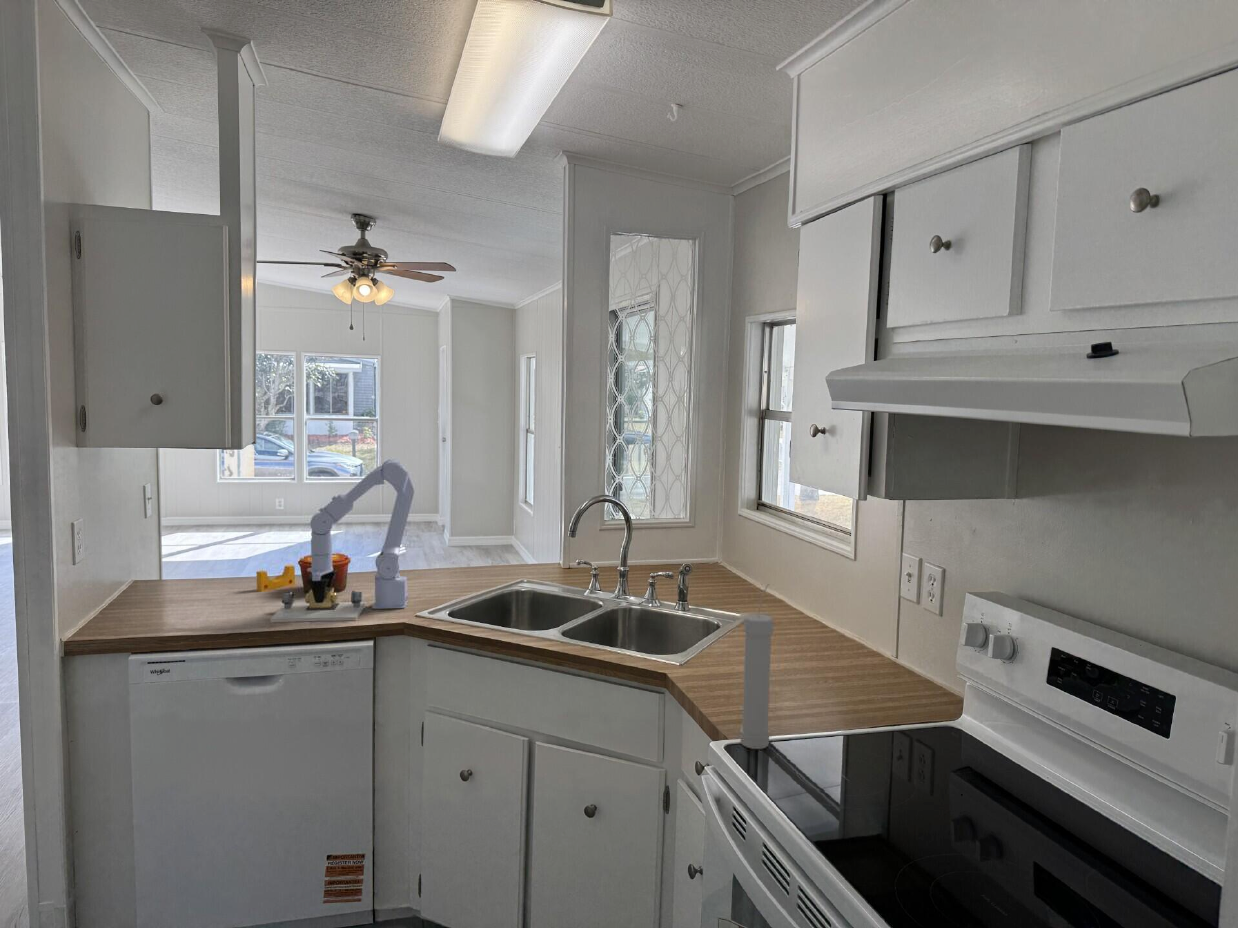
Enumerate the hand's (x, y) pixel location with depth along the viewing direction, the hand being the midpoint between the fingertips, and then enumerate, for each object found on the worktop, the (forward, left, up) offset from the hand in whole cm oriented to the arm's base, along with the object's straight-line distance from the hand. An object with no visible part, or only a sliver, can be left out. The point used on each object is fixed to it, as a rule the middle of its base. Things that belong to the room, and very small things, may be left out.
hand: (322, 599), depth 232 cm
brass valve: (0, 0, -2) cm, 2 cm away
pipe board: (0, +3, -3) cm, 5 cm away
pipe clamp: (+22, -30, -4) cm, 37 cm away
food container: (+5, -25, -4) cm, 26 cm away
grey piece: (-101, +99, -4) cm, 141 cm away
